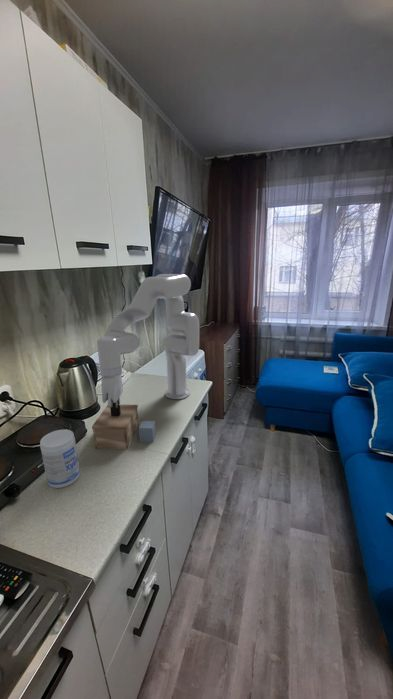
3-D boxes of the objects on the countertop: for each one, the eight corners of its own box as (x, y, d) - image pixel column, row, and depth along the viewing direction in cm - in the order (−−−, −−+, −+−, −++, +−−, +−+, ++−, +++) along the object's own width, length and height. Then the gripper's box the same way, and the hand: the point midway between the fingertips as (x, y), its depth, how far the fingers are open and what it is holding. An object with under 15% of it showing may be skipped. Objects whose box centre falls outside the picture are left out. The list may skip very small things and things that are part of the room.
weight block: (143, 434, 112) (142, 420, 110) (155, 434, 112) (154, 420, 110) (140, 441, 107) (139, 427, 105) (153, 442, 107) (152, 428, 105)
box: (110, 424, 119) (108, 407, 117) (138, 424, 118) (137, 407, 116) (95, 448, 104) (92, 429, 101) (127, 448, 103) (125, 429, 101)
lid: (108, 406, 117) (107, 404, 117) (137, 406, 116) (137, 404, 116) (92, 428, 101) (91, 426, 101) (126, 429, 101) (126, 427, 100)
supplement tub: (75, 487, 86) (68, 446, 81) (42, 491, 84) (33, 449, 80) (83, 465, 95) (77, 427, 90) (53, 468, 94) (46, 430, 89)
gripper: (108, 363, 110) (113, 405, 116) (92, 378, 96) (99, 425, 101) (127, 363, 110) (131, 405, 115) (114, 378, 96) (119, 426, 101)
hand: (116, 414), depth 108 cm, fingers closed
